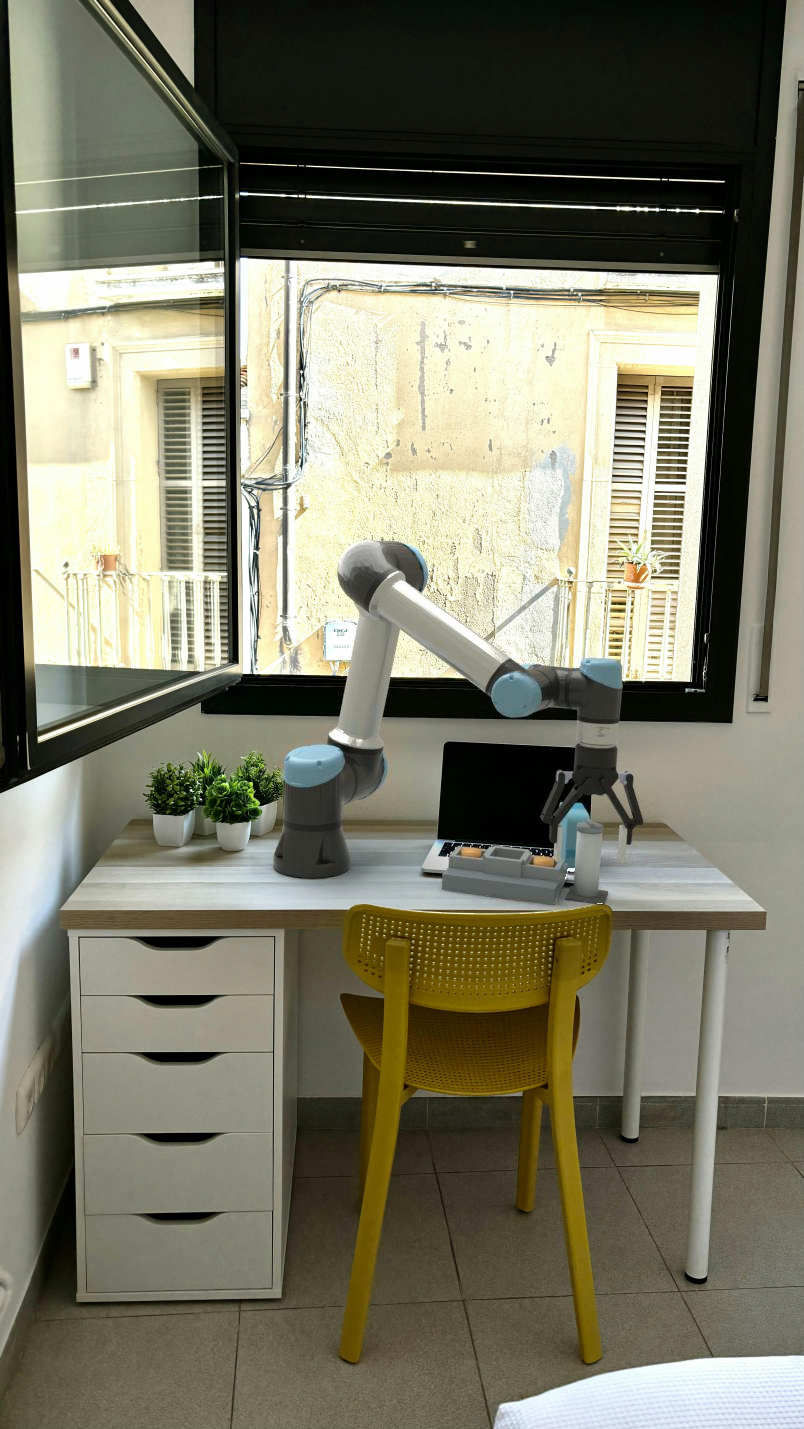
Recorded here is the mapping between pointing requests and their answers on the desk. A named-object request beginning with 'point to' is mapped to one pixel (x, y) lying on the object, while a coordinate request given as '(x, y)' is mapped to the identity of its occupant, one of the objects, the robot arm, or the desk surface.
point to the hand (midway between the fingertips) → (589, 860)
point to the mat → (594, 900)
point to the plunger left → (471, 852)
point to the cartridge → (587, 858)
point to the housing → (504, 875)
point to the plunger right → (543, 861)
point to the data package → (571, 832)
